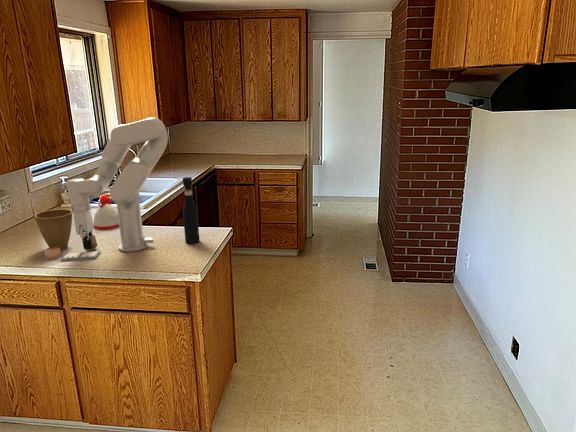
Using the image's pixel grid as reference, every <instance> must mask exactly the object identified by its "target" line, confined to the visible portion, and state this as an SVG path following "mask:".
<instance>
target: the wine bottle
mask: <svg viewBox="0 0 576 432" xmlns="http://www.w3.org/2000/svg"><path fill="white" fill-rule="evenodd" d="M192 179H193V178H192V176H191V177H189V176H186V177H182V185H183V187H184V190H185V191H184V197H183V198H184V203H183V207H182V217H183V218H182V219H183V227H184V228H183V230H184V239H185V244H186V245H197V244H199V243H200V232H199V231H200V230H199V217H198V210H197V206H196V204H195V200H194V195H193V191H192V185H193V180H192Z"/></svg>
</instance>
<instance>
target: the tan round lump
mask: <svg viewBox="0 0 576 432" xmlns="http://www.w3.org/2000/svg"><path fill="white" fill-rule="evenodd" d="M44 257H45V259H46V260H48V261H50V260H57V259H59V258H60V259H61V258H62V252H61V249H60V248H59V247H53V248H49V247H48V248H46V249H45V250H44Z"/></svg>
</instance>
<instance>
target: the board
mask: <svg viewBox="0 0 576 432" xmlns="http://www.w3.org/2000/svg"><path fill="white" fill-rule="evenodd" d="M99 255H101V251H100V250H95V251H94V250H93V251H81V252H80V251H79V252H67V253H65V254H64V255H63V256H61V257H60V262H69V261H85V260H86V261H87V260H97V258H98V257H99Z"/></svg>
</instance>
